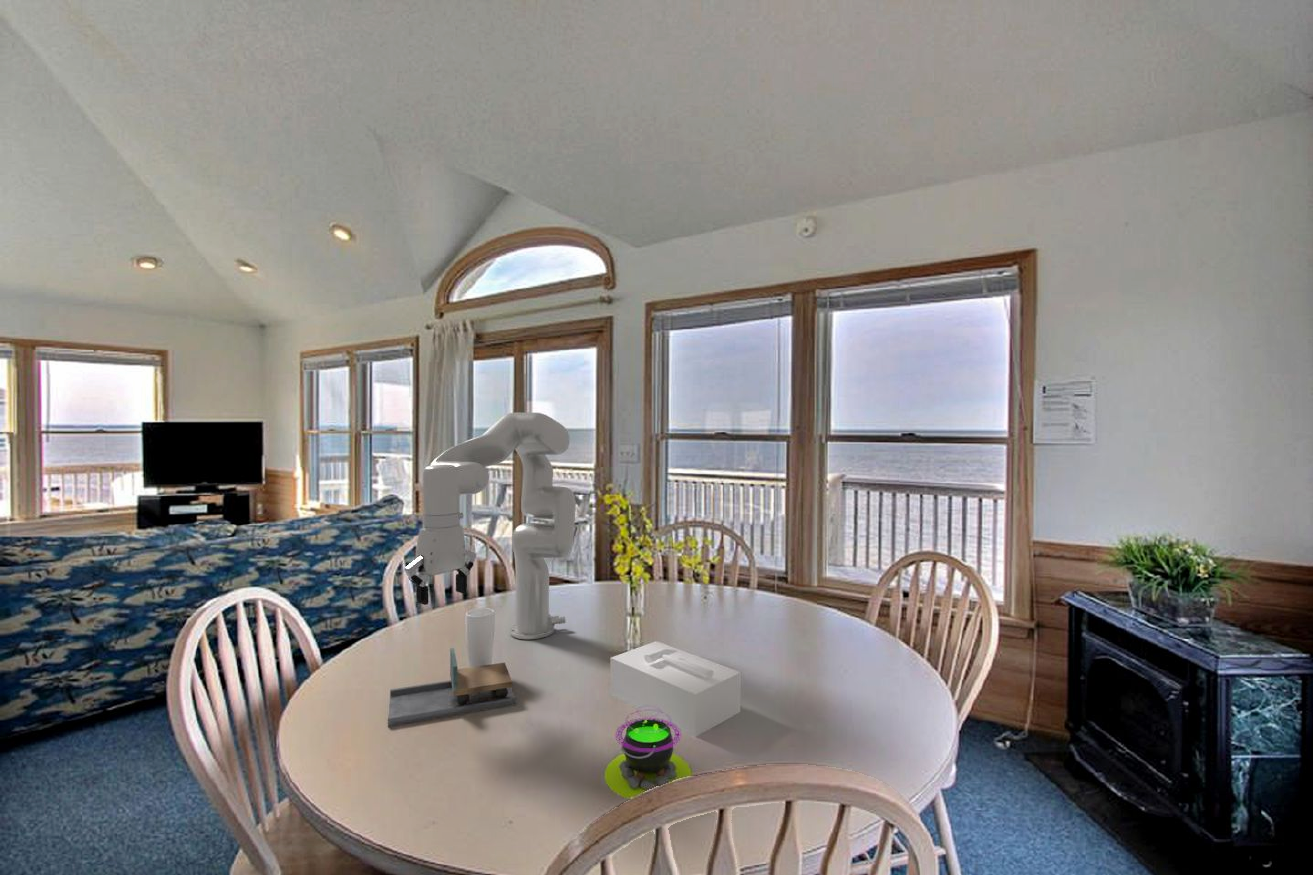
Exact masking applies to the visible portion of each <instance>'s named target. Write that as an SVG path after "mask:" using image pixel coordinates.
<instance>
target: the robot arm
mask: <svg viewBox="0 0 1313 875" xmlns="http://www.w3.org/2000/svg"><path fill="white" fill-rule="evenodd" d="M569 434H570V433H569V432H568V430H567V428H566V426H564V425H563V424H561V423H560V422H558V421H557V420H556V419H554V418H553V417H551V416H549V415H547V414H544V413H541V412H509V413H506V414H504V415H502V417H500V419H498V420H497V421H496V422H495V423H494V424H493V425H491V426H490V427H489V428H488V429H487V430H486V431H485V432H483V434H481V435H480V436H475V437H474V438H470V439H468V440H466V441H464V442H462V443H459V444H457V445H454V446H452V447H450V448H448V449H447V450H445V451H443V452H442V453H441V454H439V456H437V457H436V458H435V459H434V460H433V461H432V462H431V463H430V464H429V465H428V466H426V467H424V469H423V471H422V498H423V499H422V500H423V501H422V505H423V506H422V507H423V510H422V511H423V512H422V513H423V516H422V518H423V520H422V521H423V527H422V528H420V529H419V532H418V536H417V543H416V551H415V552H416V553H415V560H413V561H412V562H410V563H409V564H408V565H407V566H405V568H404V572H405V574H406V576H407V577H408V578H407V579H408V581H410V582H411V583H412V584H413V585H415V586H416V587H415V588H416V590H415V591H416V595H415V596H416V597H415V598H416V602H417V603H418V604H422V605H423V606H427V605H429V603H430V601H429V599H430V598H429V597H430V596H429V585H427V584H428V582H429V580H430V579H431V577H432V576H438V575H443V574H446V573H450V572H455V571H456V574H455V592H457V593H459V594H460V593H461V594H464V595H465V594H467V591H468V590H467V588H468V576H469V575H470V571H471V569H472V568H473V566H474V562H475V560H476V558H477V553H476V552H474V551H470V550H469V549H466V538H465V533H464V529H463V525H462V524H461V519H463V518H464V513H463V512H460V511H461V510H460V496H461V495H477V494H479V493H481V492H483V491H484V490H485V489H486V487H487V485H488V484H489V480H490V474H489V471H488V469H487V468H486V467H490V466H495V465H498V464H501V463H503V462H504V461H505V460H506V459H508V457H509V456H510V455H512V453H513V452H514V451H515V452H516V453H517V455H518V457H519V459H520V461H521V464H522V467H523V478H522V489H521V499H520V500H521V503H520V505H521V506H520V508H521V513H522V514H523V516H525V517H527V518H530V519H531V518H532V519H541V520H553V521H554V522H553V523H554V524H552V523H540V522H526V523H522V524H519V525H518V526H517V527H516V528H515V529H514V530H513V532H512V535H511V546H512V552H513V554H514V556H513V557H514V563H515V565H514V566H515V606H514V607H515V609H514V610H515V621H514V624H515V625H512V626H511V627H510V628H509V635H510V636H511V637H513V638H516V639H520V640H538V639H542V638H545V637H549V636H551V635H552V634H553V633H554V632H555V625H562V624H566V617H565V616H560V615H553V616H551V614H550V571H549V567H548V564H547V562H546V561H545V559H544V558H547V559H564V558H567V557H568V556H569V555H570V554H571V551H572V549H573V545H574V544H573V543H574V534H575V523H576V522H575V521H576V509H577V506H576V504H577V501H576V497H575V493H574V491H573V490H572V489H570V488H569V487H566V486H557V485H556V486H554V485H553V484H554V483H553V479H554V478H553V477H554V469H553V465H552V463H551V461H550V460H549V458H548V457H547V455H550V456H551V455H553V456H559V455H562V454H564V453H565V452H567V450H568V448H569V446H570V439H571V438H570V435H569ZM415 571H416V572H415ZM416 573H417V574H416Z"/></svg>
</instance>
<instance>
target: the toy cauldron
mask: <svg viewBox="0 0 1313 875" xmlns="http://www.w3.org/2000/svg"><path fill="white" fill-rule="evenodd" d="M645 707H646V705H645ZM651 707H652V705H651ZM640 708H641V707H640ZM648 710H649V709H648ZM659 710H660V708H659ZM644 711H645V710H644ZM644 711H642V710H640V709H638V708H636V710H635V712H632V713H630V714H629V715H627V716H626V719H625V722H624V723H622V724H620V726H621V727H620V728H617V729H616V732H615V734H614V736H615V739H616V741H617V743H618V744H620V745H621V749H620V751H621V752H623V753H622V754H620V755H618V756H616V757H615V758H614V759H612V760H611V761H610V762H609V763H608V765H607V766H606V768H605V771H604V781H605V783H606V785H607V786H608V787H609V788H610V790H611V791H612V792H614V793H615V794H616V795H618V796H621V797H622V798H625V799H629V800H631V799H630V798H631V797H636V796H637V795H639V794H641V793H643V792H645V791H647V790H649V789H652V788H654V787H656V786H661V785H663V784H666V783H669V782H672V781H673V780H676V779H679V778H683V777H687V776H691V777H692V770H691V766H689V764H688V763H687V761H686V760H684V759H683V758H682V757H681V756H679V755H677V754H675V753H674V747H675V746H676V745H677V744H678V743H679V742H680V741H681V739H682V730H680V729H679V727H678V726H676V725H675V726H676V727H677V728H676V727H675V726H673V725H674V723H673V724H671V723H672V722H670V721H669V722H667V720H666V722H665V721H664V719H661V718H656V717H654V716H652V715H649V718H648V716H647V715H645V717H641V716H642V714H641V713H640V712H644ZM652 711H653V710H652ZM654 711H655V710H654ZM657 711H658V710H657ZM658 713H659V712H658ZM661 713H663V712H661ZM633 714H637V715H638V716H639V717H640V718H635V719H631V720H628V719H629V717H630V715H633ZM656 715H657V714H656ZM657 716H658V715H657ZM669 717H670V716H669V715H668V718H669ZM660 719H661V720H660ZM669 720H670V719H669ZM625 729H626V730H625ZM671 729H672V730H673V732H674V738H673V736H672V732H671V731H672V730H671ZM624 730H625V734H624V738H623V733H624V732H623V731H624Z"/></svg>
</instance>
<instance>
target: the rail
mask: <svg viewBox="0 0 1313 875" xmlns="http://www.w3.org/2000/svg"><path fill="white" fill-rule="evenodd" d="M389 690H390V691H389V692H390V694H389V703H388V704H389V705H388V717H387V728H389V727H390V728H391V727H395V726H399V725H401V724H402V725H406V724H413V723H417V722H424V721H425V722H426V721H430V720H436V719H441V718H446V717H452V716H459V715H463V714H464V715H465V714H470V713H475V712H481V711H487V710H493V709H499V708H506V707H509V706H515V705H517V696H516V695H514V692H513V690H512V687H509V688H507V690H508V694H507V696H506V697H505V698H498V697H497V695H496V690H490V691H484V692H478V693H472V694H469V701H468V703H467V704H463V705H460V704H458V702H457V696H453V690H452V684H451V679H450V680H445V681H438V682H431V683H430V682H429V683H424V684H419V685H417V684H416V685H411V686H405V687H399V688H398V687H397V688H391V689H389Z"/></svg>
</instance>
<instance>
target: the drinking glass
mask: <svg viewBox="0 0 1313 875" xmlns="http://www.w3.org/2000/svg"><path fill="white" fill-rule="evenodd" d="M464 622H465V624H464V627H465V631H464V632H465V642H466V654H467V665H468V667H467V668H470V667H477V666H484V665H491V664H493V651H494V640H495V639H494V638H495V629H496V628H495V626H496V625H495V624H496V623H495V622H496V619H495V610H494V609H492V608H487V607H479V608H477V607H476V608H472V609H470V610H467V611H466V612H465V621H464Z"/></svg>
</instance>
